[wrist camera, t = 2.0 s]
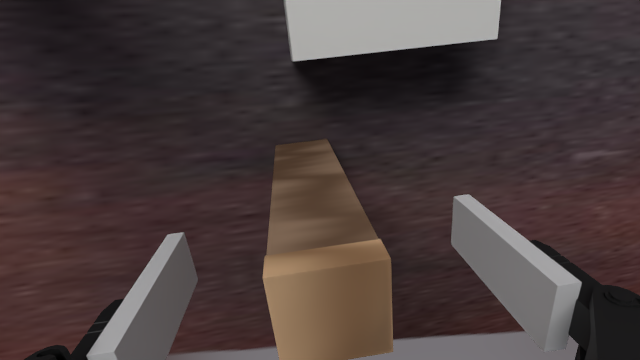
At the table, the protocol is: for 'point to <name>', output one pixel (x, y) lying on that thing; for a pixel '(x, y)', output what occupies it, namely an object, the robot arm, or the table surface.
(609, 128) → the table surface
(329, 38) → the socket block
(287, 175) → the bronze peg
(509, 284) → the robot arm
